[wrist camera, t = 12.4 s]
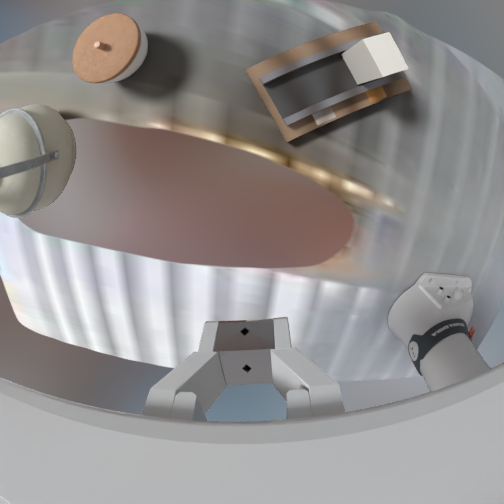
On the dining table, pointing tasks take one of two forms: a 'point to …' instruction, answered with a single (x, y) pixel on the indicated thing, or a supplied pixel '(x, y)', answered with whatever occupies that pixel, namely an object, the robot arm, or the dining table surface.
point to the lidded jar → (110, 49)
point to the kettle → (33, 158)
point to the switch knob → (374, 58)
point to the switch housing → (319, 83)
